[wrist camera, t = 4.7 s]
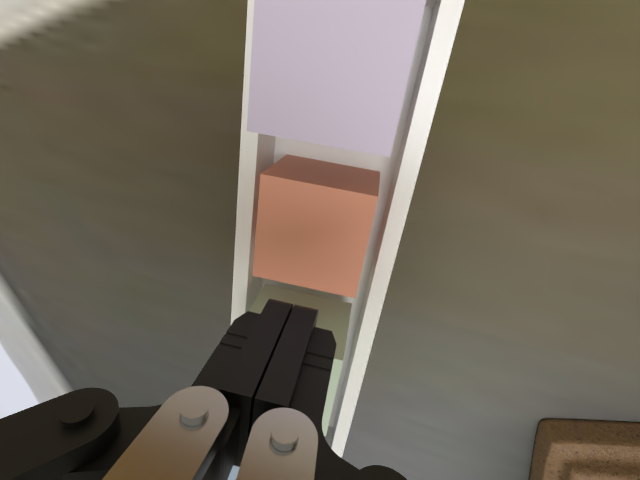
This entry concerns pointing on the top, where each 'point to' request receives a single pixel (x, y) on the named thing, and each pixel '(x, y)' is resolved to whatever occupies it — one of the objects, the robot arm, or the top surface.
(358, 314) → the frame
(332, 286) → the terracotta key
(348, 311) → the sage green key
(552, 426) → the candle holder
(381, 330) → the top surface
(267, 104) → the lavender block
